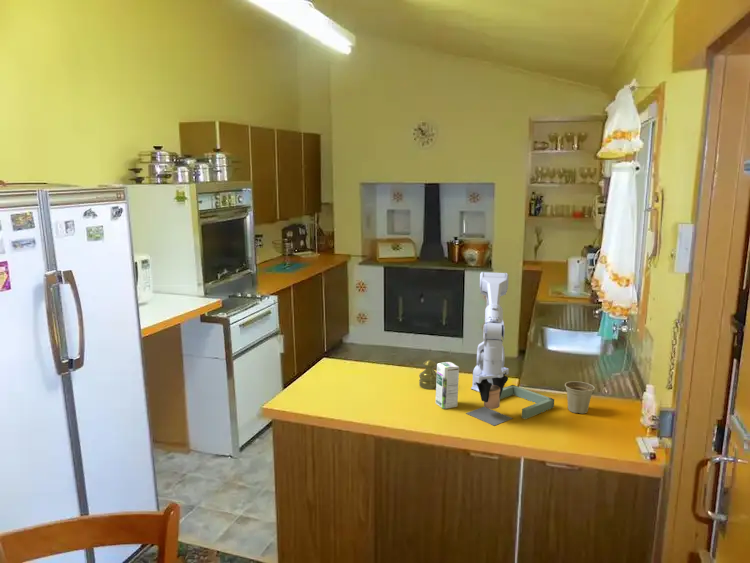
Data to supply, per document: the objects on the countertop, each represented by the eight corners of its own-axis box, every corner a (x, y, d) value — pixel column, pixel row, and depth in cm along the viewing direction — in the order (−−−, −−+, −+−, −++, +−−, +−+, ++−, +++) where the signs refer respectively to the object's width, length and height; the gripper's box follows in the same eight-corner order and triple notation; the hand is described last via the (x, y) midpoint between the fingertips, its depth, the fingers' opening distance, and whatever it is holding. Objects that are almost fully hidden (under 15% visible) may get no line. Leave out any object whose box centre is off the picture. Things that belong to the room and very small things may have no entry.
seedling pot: (479, 405, 185) (479, 388, 184) (490, 400, 188) (490, 383, 187) (492, 410, 181) (492, 392, 179) (504, 405, 184) (503, 387, 183)
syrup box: (434, 403, 195) (435, 363, 192) (449, 400, 197) (450, 361, 195) (443, 409, 190) (444, 368, 187) (458, 406, 192) (459, 366, 190)
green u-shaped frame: (483, 402, 196) (484, 394, 196) (512, 392, 206) (512, 384, 205) (525, 419, 183) (525, 410, 182) (553, 407, 192) (554, 399, 192)
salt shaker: (429, 391, 206) (430, 364, 205) (415, 385, 212) (415, 360, 210) (443, 386, 211) (443, 360, 210) (428, 381, 217) (429, 356, 215)
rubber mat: (466, 413, 187) (466, 413, 187) (484, 407, 192) (484, 406, 192) (494, 425, 177) (494, 425, 177) (512, 418, 183) (512, 418, 183)
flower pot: (569, 402, 196) (570, 379, 195) (596, 409, 191) (598, 385, 189) (558, 411, 189) (560, 386, 188) (587, 418, 183) (589, 393, 182)
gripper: (487, 366, 174) (485, 408, 177) (517, 357, 183) (514, 397, 185) (470, 360, 180) (468, 401, 182) (499, 352, 188) (498, 391, 191)
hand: (490, 399), depth 184 cm, fingers closed on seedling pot, 5 cm apart
